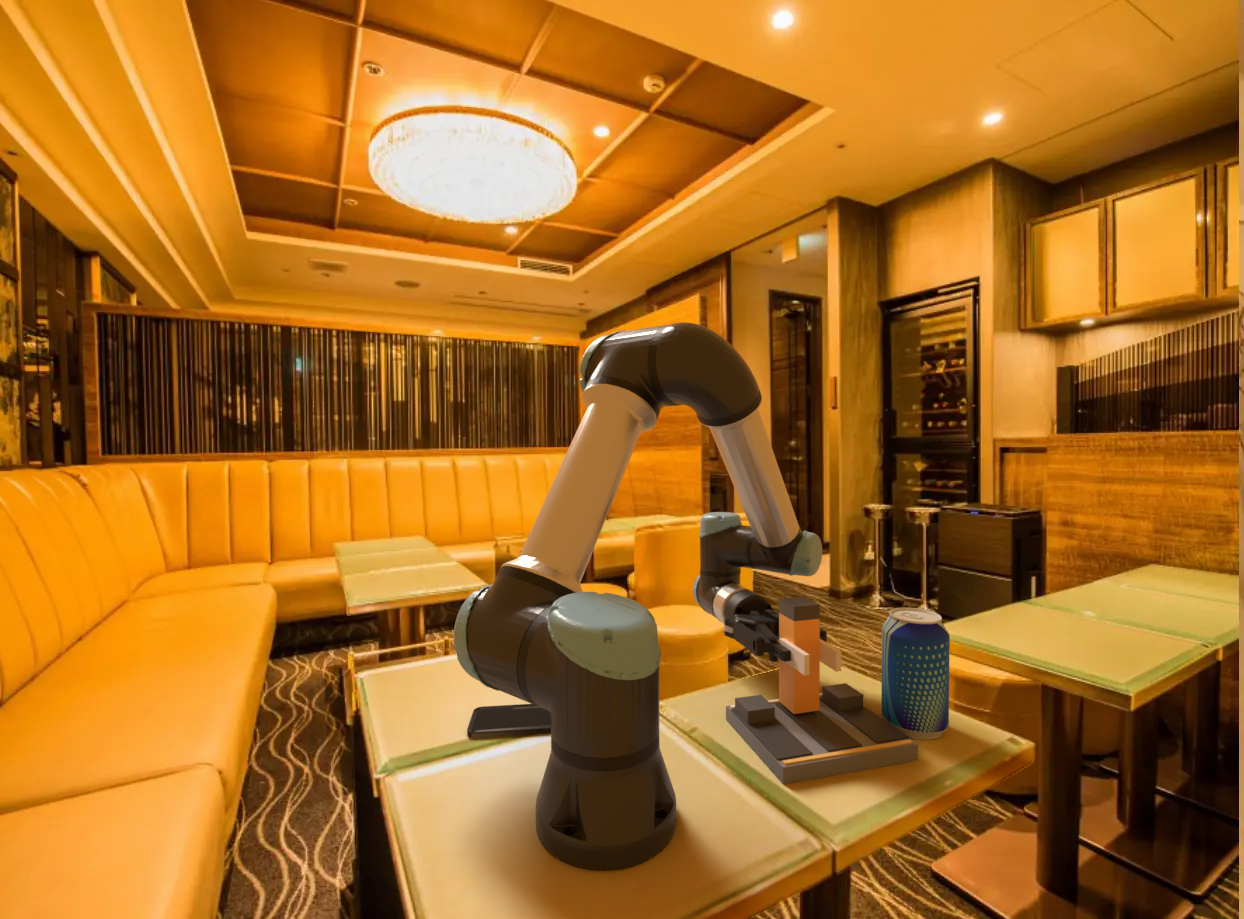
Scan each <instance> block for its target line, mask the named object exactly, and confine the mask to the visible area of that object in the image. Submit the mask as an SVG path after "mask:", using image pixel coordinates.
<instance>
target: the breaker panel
mask: <svg viewBox="0 0 1244 919" xmlns="http://www.w3.org/2000/svg"><path fill="white" fill-rule="evenodd" d="M821 691H822V692H819V711H812V712H805V713H798V714H793V713H792V712H791V711H790V710H789V709H787V708H786V707H785V706H784V705H783V704H782V703H781V702H779V698H775V699H766V698H765V697H764V696H763V695H762V694H757V695H747V696H741V697H736V698H734V704H730V705H725V720H726V722H727V723H728V724H729V725H730V726H731V727H732V728H733V730H735V732H736V733H737V734H738V735H739V736H740V737H741V739H742V740H743V741H744V742H745V743H746V744H747V745H748V746H749V748H750V749H751V750H752V751H753V752H754V753H755V754H756V756H758V757H759V759H760V760H761V761H762V762H763V763H764V765H765V766H767V768H768V770H770V771H771V772H772V774H773V775H775V777H776V778H777V779H778V780H779V781H780V782H781V784H782V785H784V784H790V783H792V784H793V783H797V782H802V781H807V780H813V779H814V780H815V779H819V778H825V777H830V776H835V775H841V774H846V773H853V772H859V771H864V770H869V769H875V768H880V767H885V766H887V767H888V766H892V765H897V764H902V763H903V764H904V763H907V762H915V761H918V760H919V744H918V743H917V742H916V741H915V740H913V739H912V738H910V737H909V736H907V735H906V734H904V733H903V732H901V731H900V730H898V729H897V728H896V727H894V726H893V725H891V724H890V723H888V722H887V721H886V720H885V719H884V717H883V718H882V717H881V716H880V715H878V714H876V712H874V711H873V710H871V709H870V708H868V707H867V706H866V705H864V694H863V693H862V692H860V691H859V690H857V689H855V688H854V687H852V686H851V685H849V684H848V683H845V682H844V683H837V684H832V685H831V684H829V685H823V686H821Z"/></svg>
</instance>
